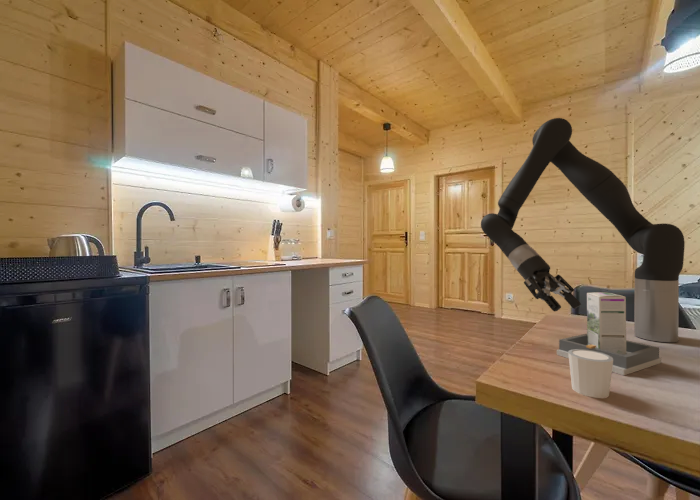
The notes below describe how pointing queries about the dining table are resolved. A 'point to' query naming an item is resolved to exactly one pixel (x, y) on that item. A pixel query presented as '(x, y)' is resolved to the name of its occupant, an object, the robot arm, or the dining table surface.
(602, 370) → the white cup
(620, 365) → the pocket plate
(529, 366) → the dining table surface
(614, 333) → the syrup box
